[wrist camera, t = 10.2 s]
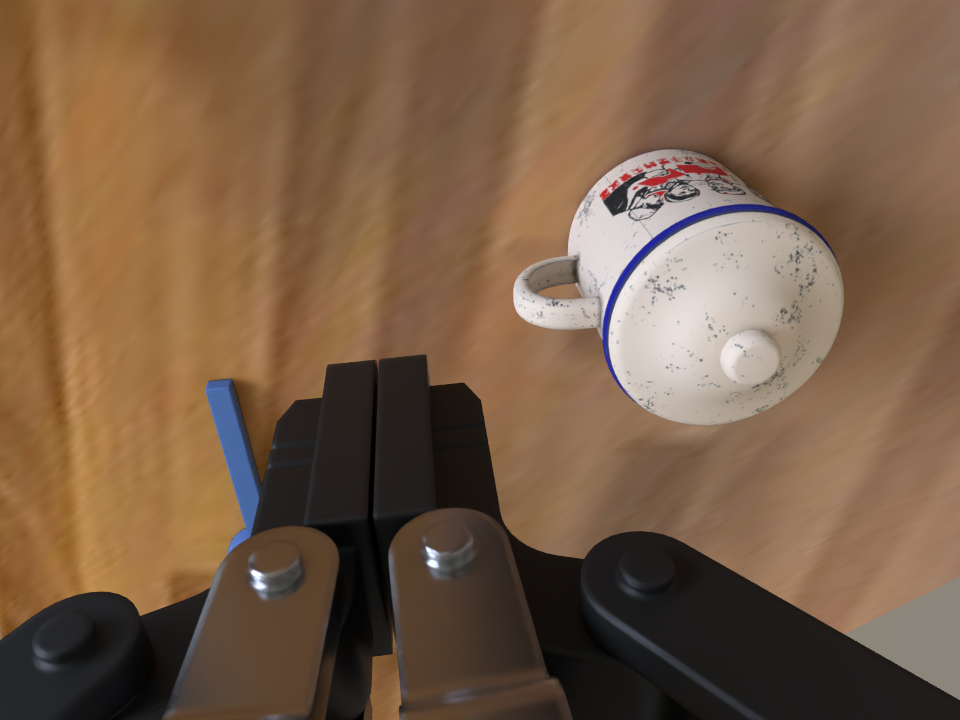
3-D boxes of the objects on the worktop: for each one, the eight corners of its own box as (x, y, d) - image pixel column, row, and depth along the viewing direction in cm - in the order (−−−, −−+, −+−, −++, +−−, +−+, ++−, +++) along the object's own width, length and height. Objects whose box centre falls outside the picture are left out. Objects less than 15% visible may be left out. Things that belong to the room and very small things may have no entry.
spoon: (174, 384, 37) (169, 395, 37) (265, 374, 38) (262, 385, 37) (238, 584, 45) (235, 597, 44) (314, 575, 45) (312, 588, 44)
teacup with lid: (765, 134, 34) (919, 228, 24) (738, 316, 38) (857, 459, 28) (496, 152, 33) (539, 257, 23) (501, 335, 38) (539, 489, 28)
